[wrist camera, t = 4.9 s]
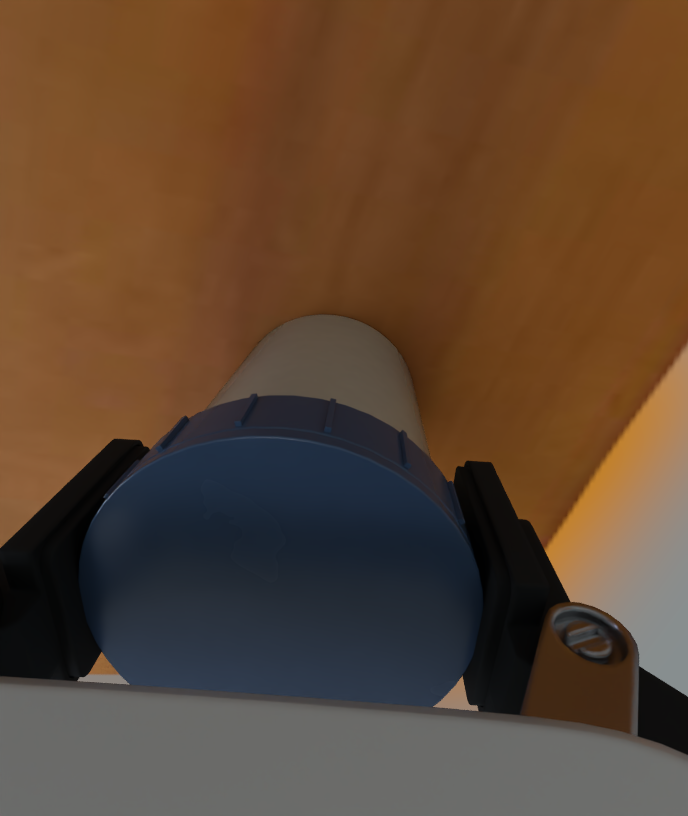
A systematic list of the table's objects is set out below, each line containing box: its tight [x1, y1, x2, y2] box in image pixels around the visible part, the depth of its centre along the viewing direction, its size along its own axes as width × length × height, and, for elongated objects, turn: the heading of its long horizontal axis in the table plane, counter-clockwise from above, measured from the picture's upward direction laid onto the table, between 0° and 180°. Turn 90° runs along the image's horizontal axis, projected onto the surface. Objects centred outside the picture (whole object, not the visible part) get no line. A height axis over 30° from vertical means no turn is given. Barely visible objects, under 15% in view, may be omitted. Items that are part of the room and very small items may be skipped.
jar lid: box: [78, 393, 484, 707], centre depth 9 cm, size 7×7×2 cm
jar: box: [204, 314, 431, 459], centre depth 13 cm, size 6×6×10 cm
